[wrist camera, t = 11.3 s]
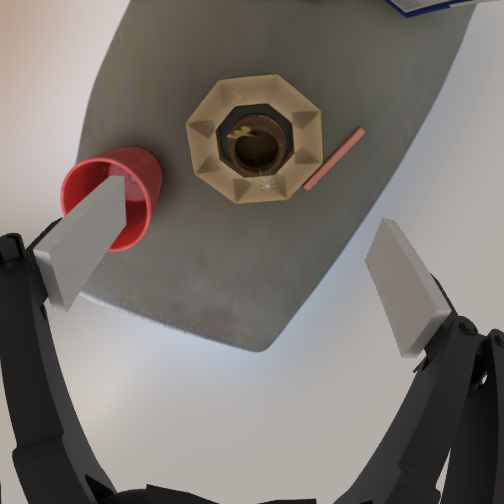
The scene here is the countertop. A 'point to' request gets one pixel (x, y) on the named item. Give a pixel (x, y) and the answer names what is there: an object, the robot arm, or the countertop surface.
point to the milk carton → (427, 5)
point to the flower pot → (135, 182)
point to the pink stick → (334, 158)
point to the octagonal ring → (221, 166)
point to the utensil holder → (257, 145)
